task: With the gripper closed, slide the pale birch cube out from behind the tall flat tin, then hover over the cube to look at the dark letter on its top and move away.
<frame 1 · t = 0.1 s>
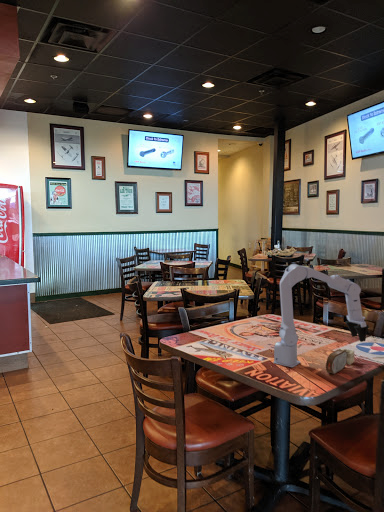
hand: (358, 338, 172), 10 cm above the table, tool pointing down, fingers open, 7 cm apart
letter cube: (346, 362, 173), on the table
tin: (336, 371, 162), on the table
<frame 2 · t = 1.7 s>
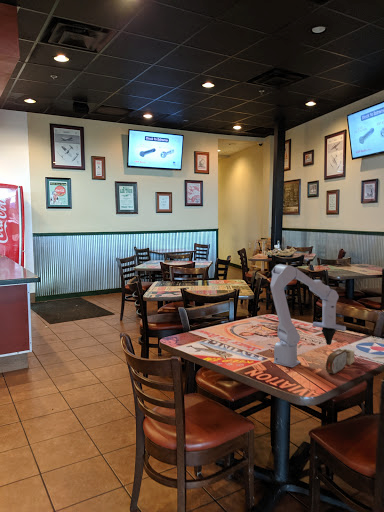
hand: (328, 344, 177), 7 cm above the table, tool pointing down, fingers closed
nothing on the table moved.
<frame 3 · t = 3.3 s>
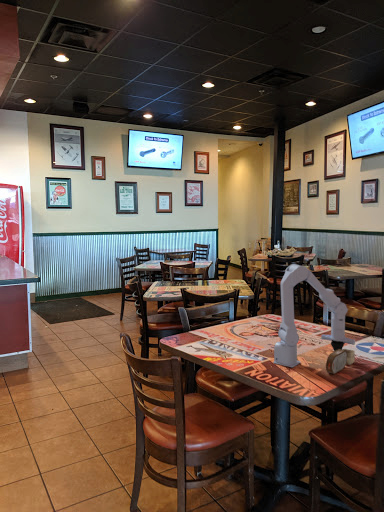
hand: (337, 357, 175), 1 cm above the table, tool pointing down, fingers closed
letter cube: (346, 362, 172), on the table, touching gripper
everything else where it was.
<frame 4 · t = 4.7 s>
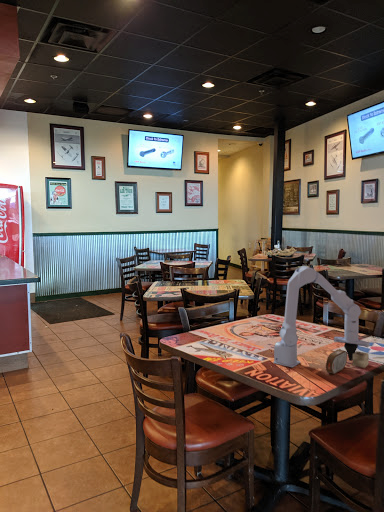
hand: (351, 360, 171), 1 cm above the table, tool pointing down, fingers closed
letter cube: (360, 365, 169), on the table, touching gripper
everything else where it was.
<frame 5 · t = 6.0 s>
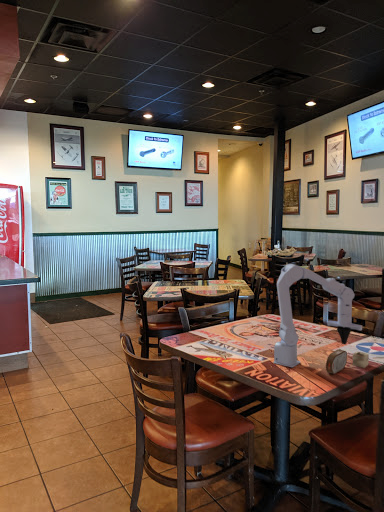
hand: (344, 343, 173), 8 cm above the table, tool pointing down, fingers closed
letter cube: (360, 365, 169), on the table
everything else where it was.
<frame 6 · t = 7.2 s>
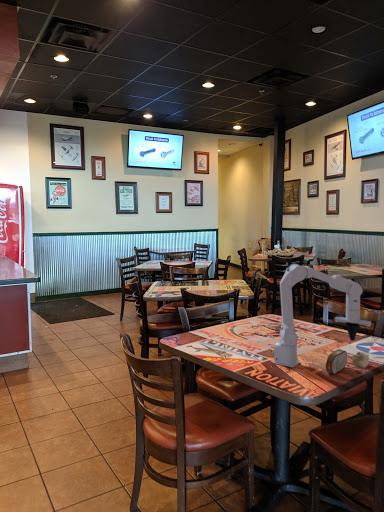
hand: (352, 340, 170), 10 cm above the table, tool pointing down, fingers closed
nothing on the table moved.
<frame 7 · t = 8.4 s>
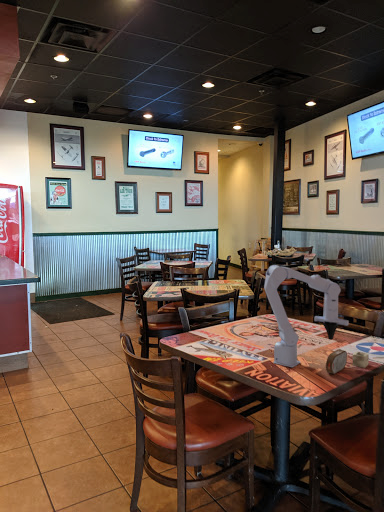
hand: (330, 339, 172), 10 cm above the table, tool pointing down, fingers closed
nothing on the table moved.
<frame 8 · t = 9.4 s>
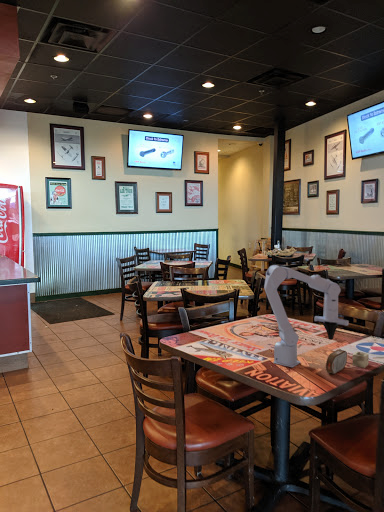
hand: (330, 339, 172), 10 cm above the table, tool pointing down, fingers closed
nothing on the table moved.
at the end: letter cube 0.3 cm from the target spot, on the table; letter cube tilted 0°; tin moved 0.3 cm from its start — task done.
